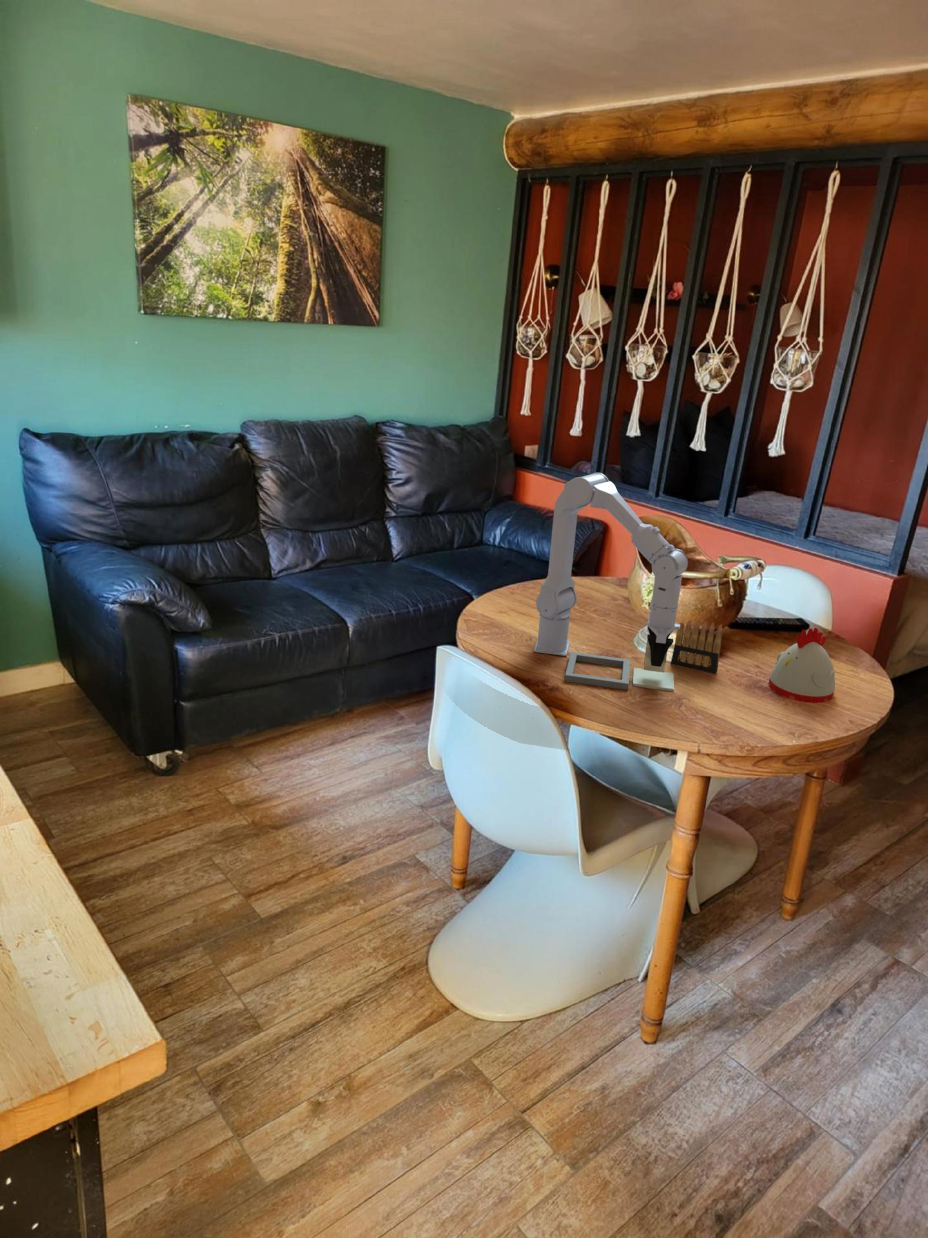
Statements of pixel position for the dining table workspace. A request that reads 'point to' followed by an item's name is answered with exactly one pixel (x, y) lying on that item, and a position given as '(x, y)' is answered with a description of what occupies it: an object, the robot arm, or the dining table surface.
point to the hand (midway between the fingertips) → (656, 661)
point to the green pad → (653, 679)
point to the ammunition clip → (697, 648)
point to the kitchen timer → (804, 670)
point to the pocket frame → (593, 679)
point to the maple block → (648, 661)
